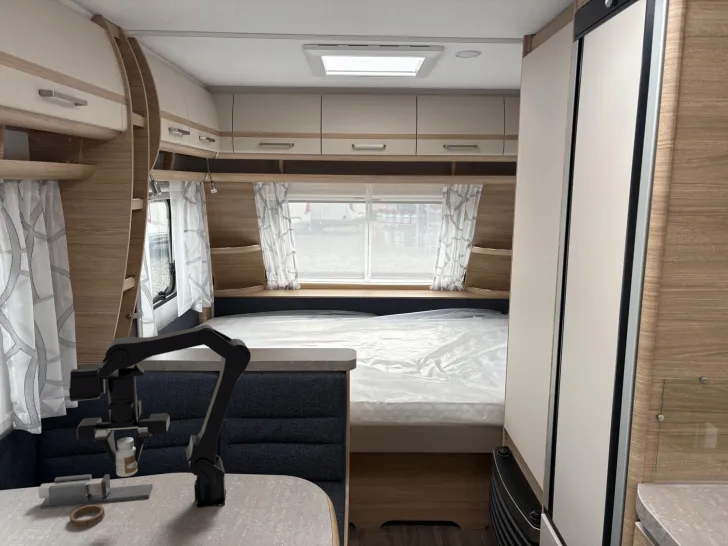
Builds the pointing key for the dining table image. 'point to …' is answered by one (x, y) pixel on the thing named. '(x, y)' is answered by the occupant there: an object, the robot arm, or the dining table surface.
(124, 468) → the pill bottle
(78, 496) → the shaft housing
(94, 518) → the bottle collar
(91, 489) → the grey long bar
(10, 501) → the dining table surface
